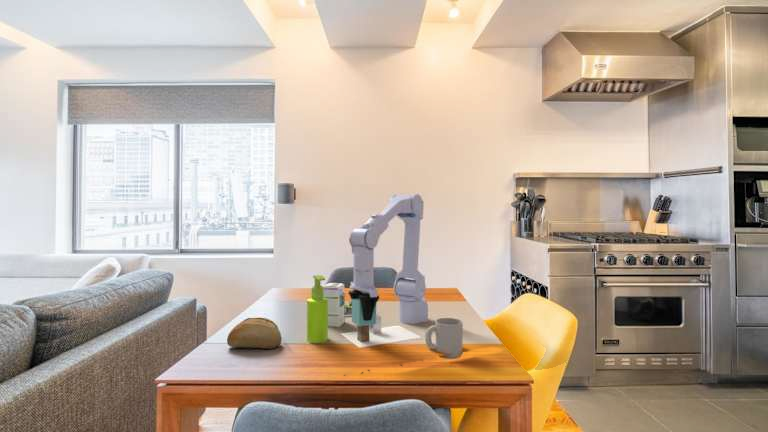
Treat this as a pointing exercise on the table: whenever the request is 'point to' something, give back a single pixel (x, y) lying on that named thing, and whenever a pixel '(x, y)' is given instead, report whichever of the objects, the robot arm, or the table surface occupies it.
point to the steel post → (376, 326)
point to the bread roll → (255, 334)
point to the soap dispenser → (317, 314)
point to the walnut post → (363, 333)
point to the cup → (446, 337)
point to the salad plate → (348, 310)
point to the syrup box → (335, 303)
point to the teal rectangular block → (361, 314)
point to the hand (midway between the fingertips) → (363, 317)
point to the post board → (382, 336)
